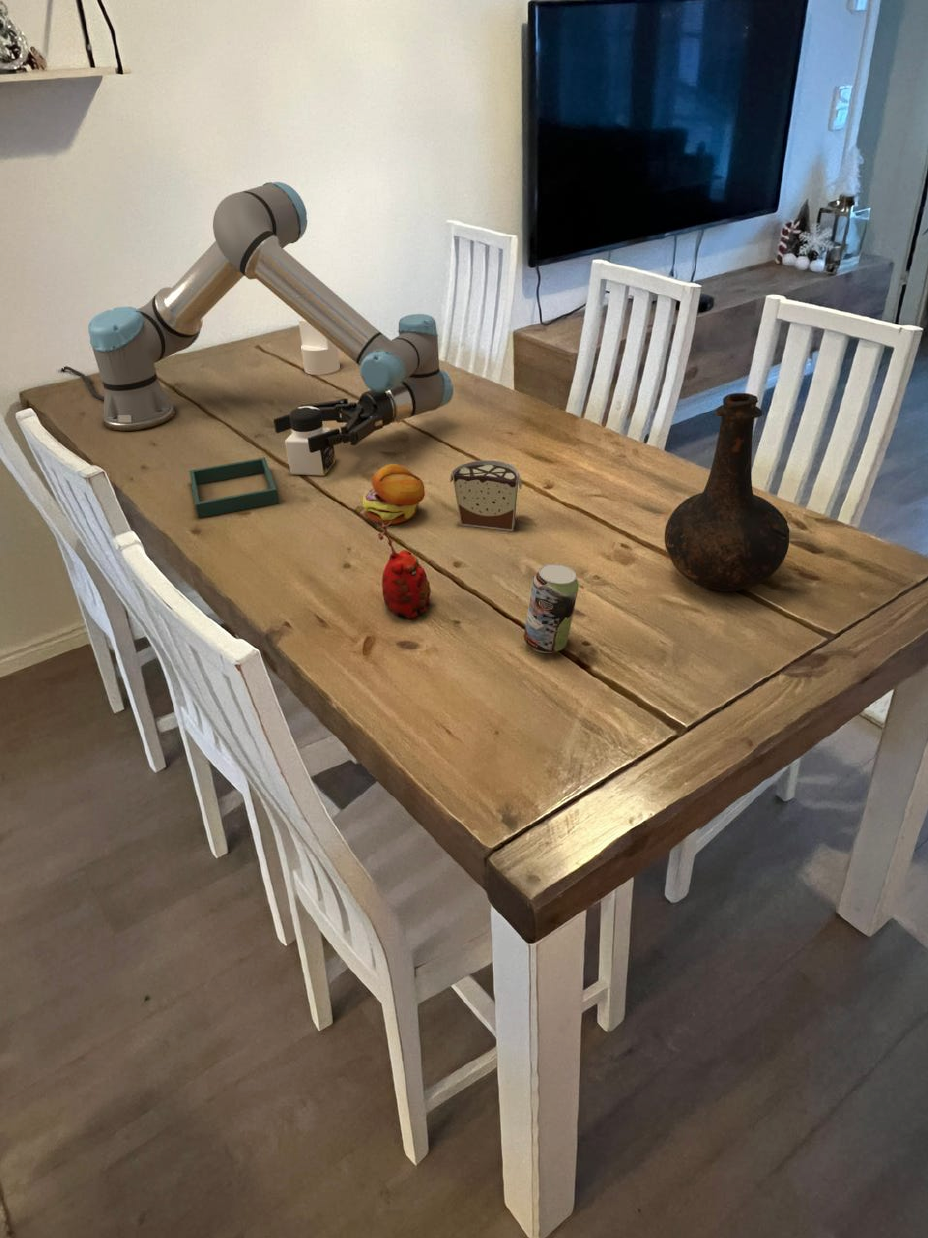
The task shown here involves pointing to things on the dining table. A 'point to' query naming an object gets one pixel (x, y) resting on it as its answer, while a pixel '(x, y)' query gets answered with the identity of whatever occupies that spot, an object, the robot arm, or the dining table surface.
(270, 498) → the tray
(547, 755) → the dining table surface
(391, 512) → the cheeseburger
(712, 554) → the glass bottle
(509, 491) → the cream brown domed block
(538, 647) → the beverage can
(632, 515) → the dining table surface
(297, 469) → the medicine bottle
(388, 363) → the robot arm
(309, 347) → the base with upright slab
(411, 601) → the red clay folk toy
